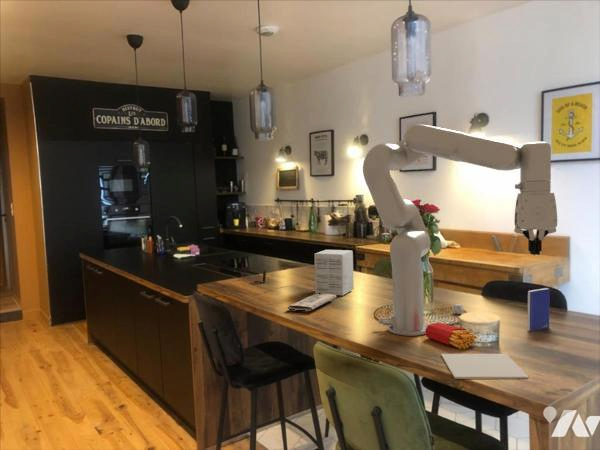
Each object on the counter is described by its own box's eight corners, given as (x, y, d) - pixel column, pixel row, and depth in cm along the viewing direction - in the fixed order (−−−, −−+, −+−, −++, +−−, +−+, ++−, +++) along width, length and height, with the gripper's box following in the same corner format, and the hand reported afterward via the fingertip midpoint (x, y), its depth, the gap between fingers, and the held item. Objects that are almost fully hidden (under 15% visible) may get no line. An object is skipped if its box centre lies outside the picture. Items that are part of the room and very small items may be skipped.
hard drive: (549, 327, 158) (550, 288, 156) (531, 331, 154) (531, 291, 153) (545, 326, 159) (546, 287, 158) (526, 330, 156) (527, 290, 155)
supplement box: (326, 287, 228) (325, 249, 227) (354, 289, 222) (353, 250, 221) (314, 293, 216) (313, 253, 215) (343, 295, 210) (342, 254, 209)
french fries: (443, 320, 154) (478, 330, 143) (443, 334, 154) (479, 344, 143) (421, 326, 149) (456, 336, 138) (422, 340, 149) (457, 351, 138)
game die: (465, 314, 176) (465, 305, 176) (454, 314, 176) (454, 306, 176) (460, 311, 180) (460, 303, 180) (450, 312, 180) (450, 304, 179)
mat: (454, 378, 120) (454, 376, 120) (441, 355, 135) (441, 353, 135) (528, 378, 118) (528, 376, 118) (506, 355, 134) (506, 353, 134)
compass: (249, 283, 242) (248, 269, 241) (265, 283, 243) (265, 268, 242) (249, 287, 234) (249, 271, 233) (266, 286, 235) (266, 271, 234)
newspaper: (309, 298, 210) (309, 292, 209) (336, 300, 204) (336, 294, 204) (282, 311, 190) (282, 304, 189) (311, 314, 184) (311, 307, 184)
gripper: (510, 188, 135) (510, 256, 136) (569, 187, 133) (568, 255, 135) (503, 188, 142) (502, 252, 144) (558, 186, 140) (558, 251, 142)
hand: (534, 254), depth 139 cm, fingers closed
